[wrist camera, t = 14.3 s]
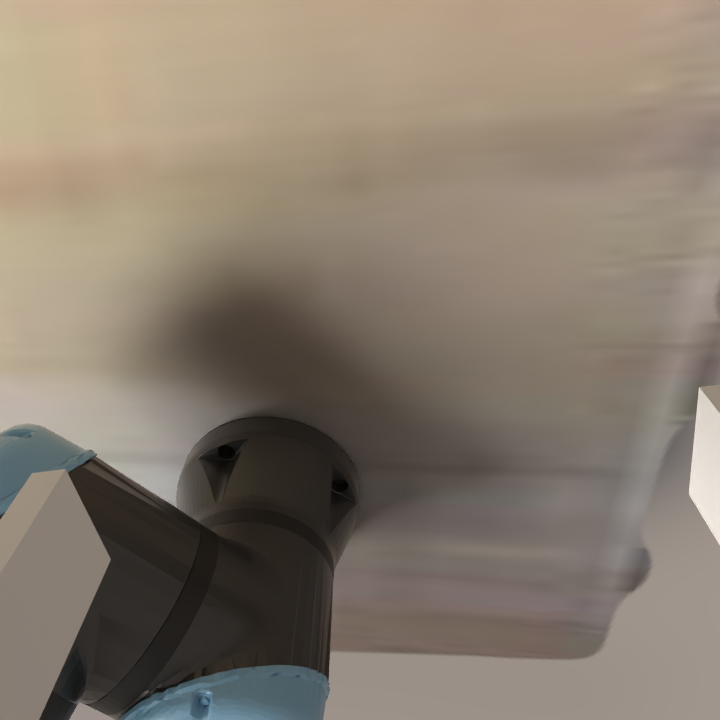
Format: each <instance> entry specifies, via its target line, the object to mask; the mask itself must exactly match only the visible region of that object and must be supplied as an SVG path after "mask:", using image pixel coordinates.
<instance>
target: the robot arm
mask: <svg viewBox="0 0 720 720" xmlns="http://www.w3.org/2000/svg"><path fill="white" fill-rule="evenodd" d="M693 446H694V447H693V456H692V466H691V476H690V487H689V495H690V497H691V499H692V500H693V502H694V503H695V505H696V507H697V508H698V510H699V512H700V513H701V515H702V517H703V518H704V520H705V522H706V523H707V525H708V526H709V528H710V530H711V532H712V533H713V535H714V536H715V538H716V540H717V541H718V543H719V545H720V385H712V386H705V387H699V394H698V404H697V414H696V425H695V435H694V445H693ZM96 455H97V454H96V453H95V452H94V451H92V450H84V449H82V448H81V447H79V446H77V445H75V444H73V443H72V442H70V441H68V440H66V439H64V438H63V437H61V436H59V435H57V434H55V433H54V432H52V431H50V430H48V429H46V428H44V427H42V426H39V425H34V424H22V425H17V426H14V427H11V428H9V429H7V430H5V431H3V432H2V433H0V720H69V719H70V717H71V715H72V713H73V712H74V710H75V708H76V706H77V705H78V703H79V702H81V703H83V704H85V705H88V706H90V707H92V708H94V709H96V710H98V711H100V712H102V713H104V714H106V715H108V716H110V717H112V718H113V719H115V720H323V716H324V709H325V703H326V700H327V698H328V695H329V691H330V689H329V683H328V679H329V660H330V639H331V619H332V599H333V578H334V569H335V567H336V565H337V563H338V561H339V559H340V557H341V555H342V553H343V551H344V549H345V547H346V545H347V543H348V541H349V539H350V537H351V535H352V533H353V531H354V529H355V526H356V523H357V520H358V515H359V502H360V485H359V479H358V476H357V473H356V470H355V468H354V466H353V464H352V462H351V460H350V459H349V457H348V456H347V454H346V453H345V452H344V451H343V450H342V449H341V448H340V447H339V446H338V445H337V444H336V443H335V442H334V441H333V440H331V439H330V438H329V437H327V436H326V435H324V434H323V433H321V432H319V431H317V430H315V429H313V428H311V427H309V426H307V425H304V424H301V423H298V422H295V421H291V420H286V419H280V418H270V417H258V418H248V419H242V420H237V421H234V422H231V423H228V424H225V425H223V426H220V427H218V428H216V429H215V430H213V431H211V432H210V433H208V434H207V435H206V436H204V437H203V438H202V439H201V440H200V441H199V442H198V443H197V444H196V445H195V446H194V448H193V449H192V450H191V452H190V454H189V455H188V457H187V460H186V462H185V465H184V467H183V470H182V472H181V475H180V478H179V482H178V487H177V496H176V499H177V508H176V507H174V506H173V505H171V504H170V503H168V502H166V501H165V500H163V499H162V498H160V497H158V496H157V495H155V494H154V493H152V492H151V491H149V490H147V489H146V488H144V487H143V486H141V485H139V484H138V483H136V482H135V481H133V480H132V479H130V478H128V477H127V476H125V475H124V474H122V473H120V472H119V471H117V470H116V469H114V468H113V467H111V466H109V465H108V464H106V463H105V462H103V461H102V460H100V459H99V458H97V457H96Z"/></svg>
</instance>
